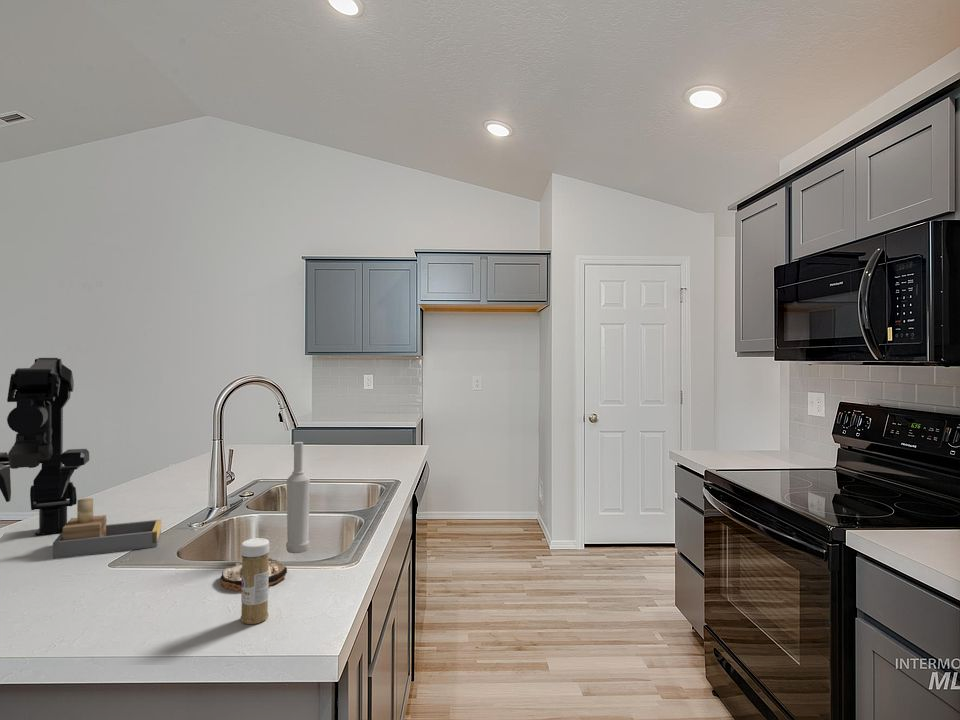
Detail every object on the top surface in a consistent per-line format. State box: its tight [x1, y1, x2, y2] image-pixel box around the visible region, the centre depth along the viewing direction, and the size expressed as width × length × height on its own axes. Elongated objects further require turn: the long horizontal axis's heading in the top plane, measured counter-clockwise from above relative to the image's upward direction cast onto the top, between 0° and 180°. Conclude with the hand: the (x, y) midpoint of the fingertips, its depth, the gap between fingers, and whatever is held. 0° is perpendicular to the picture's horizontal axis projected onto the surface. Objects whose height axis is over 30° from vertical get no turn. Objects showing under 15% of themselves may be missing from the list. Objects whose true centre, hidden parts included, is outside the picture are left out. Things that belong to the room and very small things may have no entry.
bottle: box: [285, 441, 311, 554], centre depth 134 cm, size 5×5×25 cm
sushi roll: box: [220, 557, 288, 591], centre depth 117 cm, size 15×15×4 cm
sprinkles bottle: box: [240, 537, 270, 625], centre depth 99 cm, size 5×5×13 cm
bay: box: [52, 519, 162, 559], centre depth 136 cm, size 11×20×4 cm, turn 114°
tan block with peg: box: [61, 497, 107, 540], centre depth 134 cm, size 8×7×10 cm
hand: (34, 499), depth 124 cm, fingers open, 9 cm apart
